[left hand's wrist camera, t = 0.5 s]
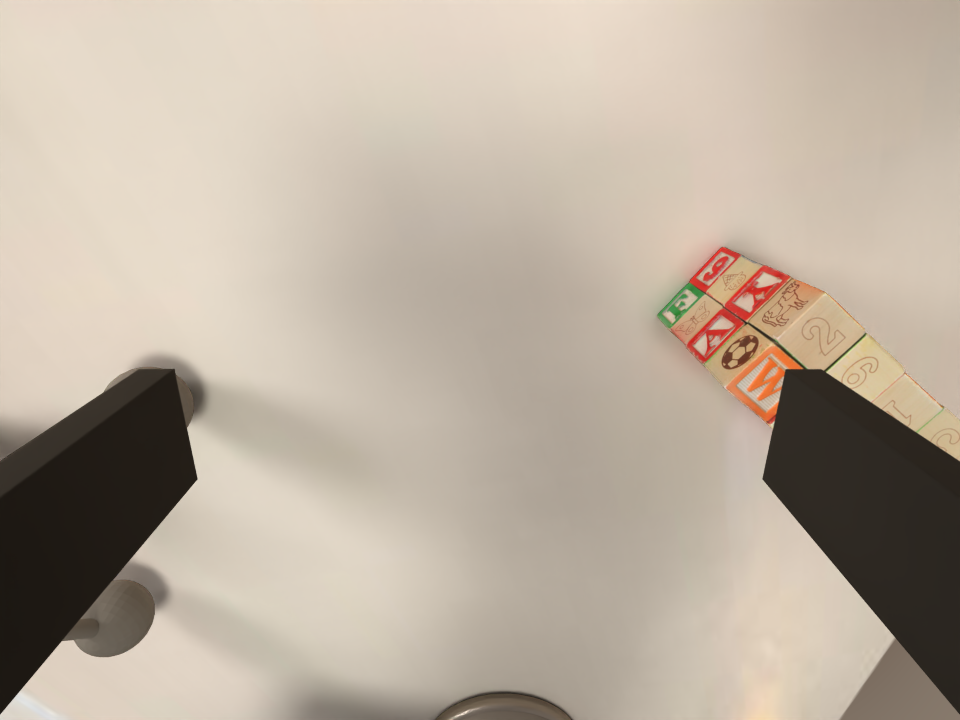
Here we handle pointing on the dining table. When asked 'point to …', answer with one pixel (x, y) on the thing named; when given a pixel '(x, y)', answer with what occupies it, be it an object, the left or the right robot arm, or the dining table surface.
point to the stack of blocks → (792, 344)
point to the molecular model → (121, 591)
